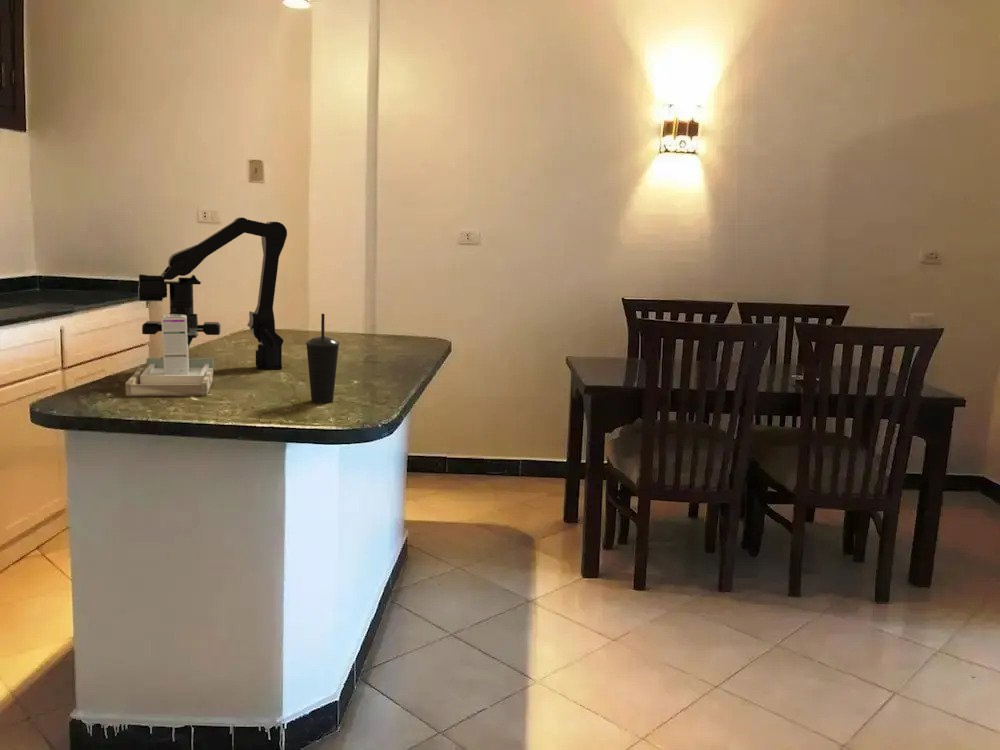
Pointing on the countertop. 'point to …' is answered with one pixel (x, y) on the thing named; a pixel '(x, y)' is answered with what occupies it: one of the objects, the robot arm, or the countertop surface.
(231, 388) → the countertop surface
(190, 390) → the dock
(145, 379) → the tray
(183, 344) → the syrup box
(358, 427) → the countertop surface
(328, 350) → the drinking cup
